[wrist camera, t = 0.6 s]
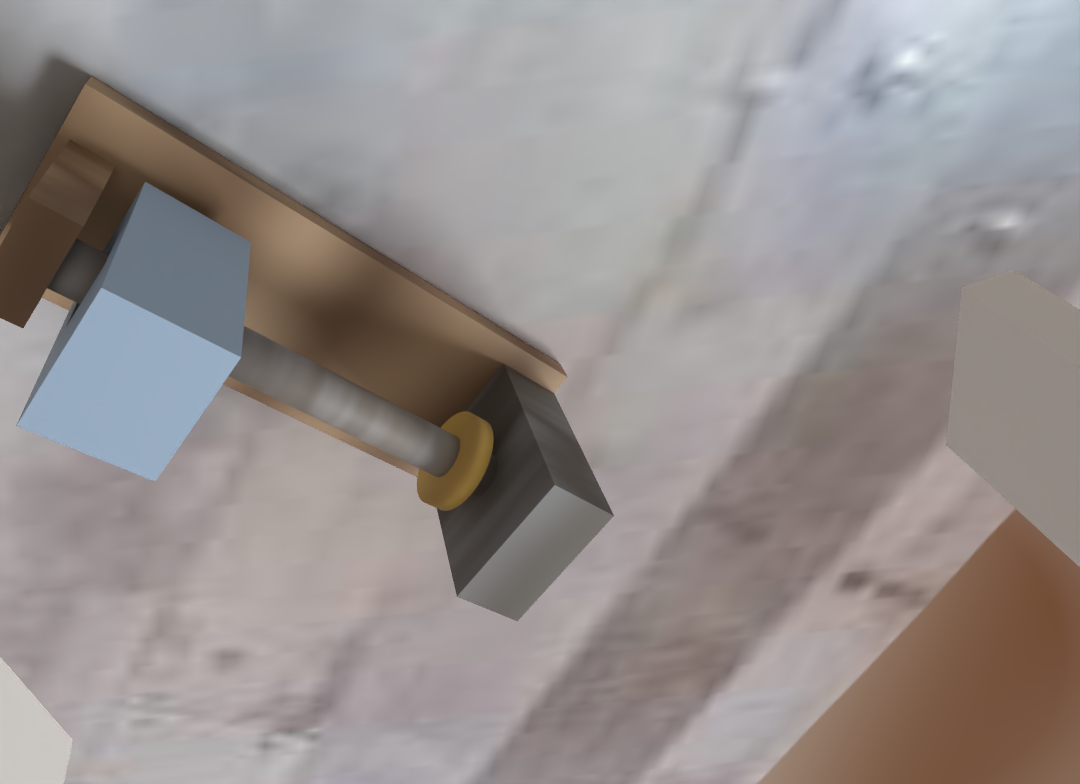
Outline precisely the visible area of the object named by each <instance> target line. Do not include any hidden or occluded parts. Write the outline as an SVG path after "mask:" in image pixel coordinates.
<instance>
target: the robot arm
mask: <svg viewBox="0 0 1080 784" xmlns="http://www.w3.org/2000/svg"><path fill="white" fill-rule="evenodd" d="M946 445H947V446H948V447H949V448H950V449H951V450H952V451H953V452H955V453H956V454H957V455H958V456H959V457H960V458H961V459H962V460H963V461H964V462H966V463H967V464H968V465H969V466H970V467H971V468H972V469H973V470H974V471H975V472H976V473H978V474H979V475H980V476H981V477H982V478H983V479H984V480H985V481H986V482H987V483H988V484H990V485H991V486H992V487H993V488H994V489H995V490H996V491H997V492H998V493H999V494H1001V495H1002V496H1003V497H1004V498H1005V499H1006V500H1007V501H1008V502H1009V503H1010V504H1011V505H1013V506H1014V507H1015V508H1016V509H1017V510H1018V511H1019V512H1020V513H1021V514H1022V515H1024V516H1025V517H1026V518H1027V519H1028V520H1029V521H1030V522H1031V523H1032V524H1033V525H1035V526H1036V527H1037V528H1038V529H1039V530H1040V531H1041V532H1042V533H1043V534H1044V535H1045V536H1046V537H1048V538H1049V539H1050V540H1051V541H1052V542H1053V543H1054V544H1055V545H1056V546H1057V547H1059V548H1060V549H1061V550H1062V551H1063V552H1064V553H1065V554H1066V555H1067V556H1068V557H1070V558H1071V559H1072V560H1073V561H1074V562H1075V563H1076V564H1077V565H1078V566H1079V567H1080V310H1079V309H1078V308H1076V307H1074V306H1073V305H1071V304H1069V303H1068V302H1066V301H1064V300H1063V299H1061V298H1059V297H1058V296H1056V295H1054V294H1053V293H1051V292H1049V291H1047V290H1046V289H1044V288H1042V287H1041V286H1039V285H1037V284H1036V283H1034V282H1032V281H1031V280H1029V279H1027V278H1026V277H1024V276H1022V275H1021V274H1019V273H1017V272H1016V271H1011V272H1007V273H1004V274H1001V275H998V276H995V277H992V278H989V279H985V280H982V281H979V282H976V283H973V284H970V285H967V286H963V287H962V296H961V306H960V315H959V325H958V335H957V345H956V355H955V365H954V375H953V384H952V394H951V404H950V414H949V424H948V434H947V444H946ZM72 743H73V740H72V739H71V738H70V737H69V736H68V734H67V733H66V732H65V731H64V730H63V729H62V728H61V726H60V725H59V724H58V723H57V722H56V721H55V719H54V718H53V717H52V716H51V715H50V714H49V713H48V711H47V710H46V709H45V708H44V707H43V706H42V705H41V703H40V702H39V701H38V700H37V699H36V698H35V696H34V695H33V694H32V693H31V692H30V691H29V690H28V688H27V687H26V686H25V685H24V684H23V683H22V681H21V680H20V679H19V678H18V677H17V676H16V675H15V673H14V672H13V671H12V670H11V669H10V668H9V667H8V665H7V664H6V663H5V662H4V661H3V660H2V658H1V657H0V784H64V781H65V776H66V771H67V766H68V762H69V757H70V752H71V747H72Z"/></svg>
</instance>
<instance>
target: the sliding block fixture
mask: <svg viewBox="0 0 1080 784" xmlns="http://www.w3.org/2000/svg"><path fill="white" fill-rule="evenodd" d="M145 182H147V183H148V184H150V185H152V186H154V187H155V188H157V189H159V190H161V191H162V192H164V193H166V194H168V195H169V196H171V197H173V198H175V199H176V200H178V201H180V202H182V203H183V204H185V205H187V206H189V207H190V208H192V209H194V210H196V211H197V212H199V213H201V214H203V215H204V216H206V217H208V218H210V219H211V220H213V221H215V222H217V223H218V224H220V225H222V226H223V227H225V228H227V229H229V230H230V231H232V232H234V233H236V234H237V235H239V236H241V237H243V238H244V239H246V240H248V241H250V242H251V249H250V260H249V272H248V284H247V296H246V307H245V319H244V331H243V342H242V354H241V358H240V360H239V361H238V363H237V364H236V366H235V367H234V369H233V370H232V371H231V373H230V374H229V376H228V377H227V379H226V380H225V382H224V383H223V384H224V385H226V386H228V387H230V388H232V389H234V390H236V391H238V392H241V393H243V394H245V395H247V396H249V397H251V398H253V399H255V400H257V401H259V402H262V403H264V404H266V405H268V406H270V407H272V408H274V409H276V410H278V411H280V412H282V413H285V414H287V415H289V416H291V417H293V418H295V419H297V420H299V421H301V422H303V423H305V424H308V425H310V426H312V427H314V428H316V429H318V430H320V431H322V432H324V433H326V434H328V435H331V436H333V437H335V438H337V439H339V440H341V441H343V442H345V443H347V444H349V445H351V446H354V447H356V448H358V449H360V450H362V451H364V452H366V453H368V454H370V455H372V456H374V457H377V458H379V459H381V460H383V461H385V462H387V463H389V464H391V465H393V466H395V467H397V468H400V469H402V470H404V471H406V472H408V473H410V474H412V475H414V476H416V477H417V491H418V495H419V497H420V499H421V500H422V501H423V502H425V503H427V504H429V505H431V506H434V507H436V508H437V511H438V515H439V519H440V524H441V528H442V533H443V537H444V541H445V546H446V550H447V555H448V559H449V563H450V568H451V572H452V576H453V581H454V585H455V590H456V594H457V597H459V598H462V599H464V600H467V601H469V602H472V603H474V604H477V605H479V606H482V607H484V608H486V609H489V610H491V611H494V612H496V613H499V614H501V615H504V616H506V617H509V618H511V619H513V620H516V621H518V620H519V619H520V618H521V617H522V616H523V614H524V613H525V612H526V611H527V610H528V609H529V608H530V607H531V606H532V605H533V604H534V602H535V601H536V600H537V599H538V598H539V597H540V596H541V595H542V594H543V593H544V592H545V590H546V589H547V588H548V587H549V586H550V585H551V584H552V583H553V582H554V581H555V580H556V578H557V577H558V576H559V575H560V574H561V573H562V572H563V571H564V570H565V569H566V567H567V566H568V565H569V564H570V563H571V562H572V561H573V560H574V559H575V558H576V557H577V555H578V554H579V553H580V552H581V551H582V550H583V549H584V548H585V547H586V546H587V545H588V543H589V542H590V541H591V540H592V539H593V538H594V537H595V536H596V535H597V534H598V533H599V531H600V530H601V529H602V528H603V527H604V526H605V525H606V524H607V523H608V522H609V521H610V519H611V518H612V517H613V516H614V515H613V513H612V511H611V509H610V507H609V505H608V503H607V501H606V499H605V497H604V495H603V493H602V490H601V488H600V486H599V484H598V482H597V480H596V478H595V476H594V474H593V472H592V470H591V468H590V466H589V464H588V462H587V460H586V458H585V456H584V454H583V452H582V450H581V448H580V445H579V443H578V441H577V439H576V437H575V435H574V433H573V431H572V429H571V427H570V425H569V423H568V421H567V419H566V417H565V415H564V413H563V411H562V409H561V407H560V405H559V403H558V401H557V398H556V396H555V394H554V392H555V391H556V390H557V389H558V388H559V387H560V385H561V384H562V383H563V382H564V381H565V379H566V378H567V375H566V374H565V372H564V370H563V368H562V366H561V364H559V363H558V362H556V361H554V360H553V359H551V358H549V357H548V356H546V355H545V354H543V353H541V352H540V351H538V350H536V349H535V348H533V347H532V346H530V345H528V344H527V343H525V342H523V341H522V340H520V339H519V338H517V337H515V336H514V335H512V334H510V333H509V332H507V331H506V330H504V329H502V328H501V327H499V326H497V325H496V324H494V323H493V322H491V321H489V320H488V319H486V318H484V317H483V316H481V315H480V314H478V313H476V312H475V311H473V310H471V309H470V308H468V307H467V306H465V305H463V304H462V303H460V302H458V301H457V300H455V299H454V298H452V297H450V296H449V295H447V294H445V293H444V292H442V291H441V290H439V289H437V288H436V287H434V286H432V285H431V284H429V283H428V282H426V281H424V280H423V279H421V278H419V277H418V276H416V275H415V274H413V273H411V272H410V271H408V270H406V269H405V268H403V267H402V266H400V265H398V264H397V263H395V262H393V261H392V260H390V259H389V258H387V257H385V256H384V255H382V254H380V253H379V252H377V251H376V250H374V249H372V248H371V247H369V246H367V245H366V244H364V243H363V242H361V241H359V240H358V239H356V238H354V237H353V236H351V235H350V234H348V233H346V232H345V231H343V230H341V229H340V228H338V227H337V226H335V225H333V224H332V223H330V222H328V221H327V220H325V219H324V218H322V217H320V216H319V215H317V214H315V213H314V212H312V211H311V210H309V209H307V208H306V207H304V206H302V205H301V204H299V203H297V202H296V201H294V200H293V199H291V198H289V197H288V196H286V195H284V194H283V193H281V192H280V191H278V190H276V189H275V188H273V187H271V186H270V185H268V184H267V183H265V182H263V181H262V180H260V179H258V178H257V177H255V176H254V175H252V174H250V173H249V172H247V171H245V170H244V169H242V168H241V167H239V166H237V165H236V164H234V163H232V162H231V161H229V160H228V159H226V158H224V157H223V156H221V155H219V154H218V153H216V152H215V151H213V150H211V149H210V148H208V147H206V146H205V145H203V144H202V143H200V142H198V141H197V140H195V139H193V138H192V137H190V136H189V135H187V134H185V133H184V132H182V131H180V130H179V129H177V128H176V127H174V126H172V125H171V124H169V123H167V122H166V121H164V120H163V119H161V118H159V117H158V116H156V115H154V114H153V113H151V112H150V111H148V110H146V109H145V108H143V107H141V106H140V105H138V104H137V103H135V102H133V101H132V100H130V99H128V98H127V97H125V96H124V95H122V94H120V93H119V92H117V91H115V90H114V89H112V88H111V87H109V86H107V85H106V84H104V83H102V82H101V81H99V80H98V79H96V78H94V77H93V76H91V78H90V79H89V80H88V81H87V82H86V84H85V85H84V87H83V89H82V91H81V92H80V94H79V96H78V98H77V100H76V101H75V103H74V105H73V107H72V108H71V110H70V112H69V114H68V116H67V117H66V119H65V121H64V123H63V124H62V126H61V128H60V130H59V132H58V133H57V135H56V137H55V139H54V140H53V142H52V144H51V146H50V148H49V149H48V151H47V153H46V155H45V156H44V158H43V160H42V162H41V164H40V165H39V167H38V169H37V171H36V172H35V174H34V176H33V178H32V180H31V181H30V183H29V185H28V187H27V188H26V190H25V192H24V194H23V196H22V197H21V199H20V201H19V203H18V204H17V206H16V208H15V210H14V212H13V213H12V215H11V217H10V219H9V220H8V222H7V224H6V226H5V228H4V229H3V231H2V233H1V235H0V318H2V319H4V320H6V321H8V322H10V323H13V324H15V325H17V326H19V327H21V328H24V326H25V324H26V323H27V321H28V319H29V318H30V316H31V314H32V313H33V311H34V309H35V308H36V306H37V304H38V303H39V301H40V299H41V297H42V298H44V299H46V300H48V301H50V302H52V303H54V304H57V305H59V306H61V307H63V308H65V309H67V310H69V311H70V308H71V306H72V304H73V302H77V303H79V304H81V302H82V301H83V299H84V297H85V296H86V294H87V293H88V291H89V289H90V288H91V286H92V284H93V283H94V281H95V279H96V278H97V276H98V275H99V273H100V271H101V270H102V268H103V266H104V265H105V263H106V261H107V258H108V256H109V255H107V254H105V253H103V250H104V249H105V247H106V245H107V244H108V242H109V241H110V239H111V237H112V236H113V234H114V232H115V231H116V229H117V227H118V226H119V224H120V222H121V221H122V219H123V218H124V216H125V214H126V213H127V211H128V209H129V208H130V206H131V204H132V203H133V201H134V199H135V198H136V196H137V195H138V193H139V191H140V190H141V188H142V186H143V185H144V183H145Z"/></svg>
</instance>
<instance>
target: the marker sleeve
mask: <svg viewBox="0 0 1080 784" xmlns="http://www.w3.org/2000/svg"><path fill="white" fill-rule="evenodd" d="M250 249H251V242H250V241H248V240H246V239H244V238H243V237H241V236H239V235H237V234H236V233H234V232H232V231H230V230H229V229H227V228H225V227H223V226H222V225H220V224H218V223H217V222H215V221H213V220H211V219H210V218H208V217H206V216H204V215H203V214H201V213H199V212H197V211H196V210H194V209H192V208H190V207H189V206H187V205H185V204H183V203H182V202H180V201H178V200H176V199H175V198H173V197H171V196H169V195H168V194H166V193H164V192H162V191H161V190H159V189H157V188H155V187H154V186H152V185H150V184H148V183H147V182H145V183H144V185H143V186H142V188H141V190H140V191H139V193H138V195H137V196H136V198H135V199H134V201H133V203H132V204H131V206H130V208H129V209H128V211H127V213H126V214H125V216H124V218H123V219H122V221H121V222H120V224H119V226H118V227H117V229H116V231H115V232H114V234H113V236H112V237H111V239H110V241H109V242H108V244H107V245H106V247H105V249H104V250H103V253H105V254H107V255H109V256H108V258H107V261H106V263H105V265H104V266H103V268H102V270H101V271H100V273H99V275H98V276H97V278H96V279H95V281H94V283H93V284H92V286H91V288H90V289H89V291H88V293H87V294H86V296H85V297H84V299H83V301H82V302H81V304H79V303H77V302H73V304H72V306H71V308H70V311H69V313H68V315H67V317H66V319H65V321H64V324H63V326H62V328H61V330H60V332H59V334H58V337H57V339H56V341H55V343H54V345H53V347H52V350H51V352H50V354H49V356H48V358H47V360H46V363H45V365H44V367H43V369H42V371H41V373H40V376H39V378H38V380H37V382H36V384H35V386H34V389H33V391H32V393H31V395H30V397H29V399H28V402H27V404H26V406H25V408H24V410H23V412H22V414H21V417H20V419H19V421H18V423H17V425H16V426H18V427H21V428H23V429H26V430H28V431H31V432H33V433H36V434H38V435H41V436H43V437H46V438H48V439H51V440H53V441H56V442H58V443H60V444H63V445H65V446H68V447H70V448H73V449H75V450H78V451H80V452H83V453H85V454H88V455H90V456H93V457H95V458H98V459H100V460H103V461H105V462H108V463H110V464H113V465H115V466H118V467H120V468H123V469H125V470H127V471H130V472H132V473H135V474H137V475H140V476H142V477H145V478H147V479H150V480H152V481H156V479H157V478H158V477H159V475H160V474H161V472H162V471H163V469H164V468H165V466H166V465H167V464H168V462H169V461H170V459H171V458H172V456H173V455H174V453H175V452H176V451H177V449H178V448H179V446H180V445H181V443H182V442H183V441H184V439H185V438H186V436H187V435H188V433H189V432H190V430H191V429H192V428H193V426H194V425H195V423H196V422H197V420H198V419H199V418H200V416H201V415H202V413H203V412H204V410H205V409H206V407H207V406H208V405H209V403H210V402H211V400H212V399H213V397H214V396H215V394H216V393H217V392H218V390H219V389H220V387H221V386H222V384H223V383H224V382H225V380H226V379H227V377H228V376H229V374H230V373H231V371H232V370H233V369H234V367H235V366H236V364H237V363H238V361H239V360H240V358H241V354H242V342H243V331H244V319H245V307H246V296H247V284H248V272H249V260H250Z"/></svg>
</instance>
